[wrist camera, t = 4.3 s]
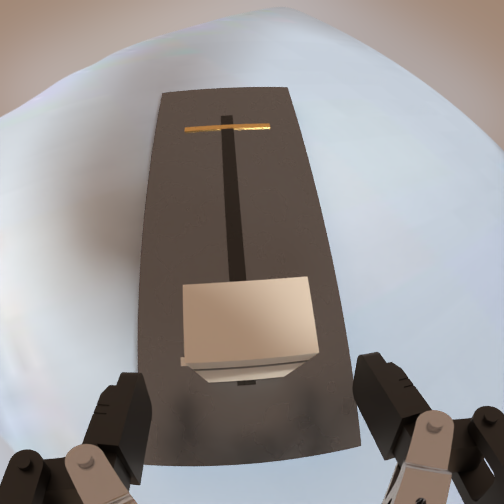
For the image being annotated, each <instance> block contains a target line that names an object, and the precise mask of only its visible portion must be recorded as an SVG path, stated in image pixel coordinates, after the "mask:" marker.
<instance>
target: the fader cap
mask: <svg viewBox="0 0 504 504" xmlns="http://www.w3.org/2000/svg"><path fill="white" fill-rule="evenodd" d="M183 328H184V356H185V364H186V365H188V366H189V367H190V368H191V369H192V371H195V372H196V373H197V374H199V375H200V376H201V377H202V378H204V379H205V380H206V381H207V382H209V383H210V382H228V381H243V380H255V379H266V378H276V377H284V376H286V375H287V374H289V373H290V372H292V371H293V370H295V369H296V368H298V367H299V366H301V365H302V364H303V363H305V362H308V361H309V359H311V358H312V357H313V356H315V355H316V354H318V353H319V347H318V340H317V334H316V327H315V320H314V314H313V307H312V301H311V294H310V288H309V282H308V276H307V277H294V278H281V279H267V280H253V281H238V282H222V283H205V284H188V285H183Z"/></svg>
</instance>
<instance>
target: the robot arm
mask: <svg viewBox="0 0 504 504" xmlns="http://www.w3.org/2000/svg"><path fill="white" fill-rule="evenodd" d="M352 390H353V397H354V400H355V402H356V404H357V406H358V408H359V410H360V412H361V414H362V416H363V418H364V420H365V422H366V424H367V426H368V428H369V430H370V432H371V434H372V436H373V438H374V440H375V442H376V444H377V446H378V448H379V450H380V452H381V454H382V456H383V458H384V460H388V459H392V458H396V460H397V465H396V467H395V470H394V472H393V475H392V478H391V481H390V483H389V486H388V489H387V491H386V494H385V497H384V499H383V502H382V504H446V501H447V497H448V492H449V487H450V482H451V478H452V480H453V482H454V484H455V486H456V488H457V490H458V492H459V494H460V496H461V498H462V500H463V502H464V504H504V414H503V413H502V412H501V411H500V410H499V409H497V408H495V407H491V406H483V407H480V408H478V409H477V410H476V411H475V413H474V415H473V417H472V418H468V419H457V420H452V419H451V417H450V416H448V415H447V414H446V413H444V412H441V411H437V410H432V409H431V408H430V407H429V405H428V404H427V402H426V401H425V400H424V398H423V397H422V396H421V394H420V393H419V391H418V390H417V389H416V387H415V386H413V383H412V382H411V381H410V379H408V377H407V375H406V374H405V372H404V371H403V370H402V369H401V368H400V367H398V366H397V365H395V364H394V363H392V362H389V363H386V361H385V360H384V359H383V357H382V356H381V354H380V353H379V352H374V353H369V354H363V355H359V356H358V358H357V363H356V369H355V375H354V380H353V387H352ZM151 420H152V404H151V400H150V397H149V394H148V390H147V387H146V384H145V380H144V377H143V374H142V373H127V372H122V373H121V374H120V377H119V380H118V382H117V385H109V386H108V387H107V388H106V389H105V390H104V391H103V392H102V393H101V395H100V398H99V400H98V403H97V406H96V408H95V410H94V414H93V416H92V418H91V421H90V424H89V426H88V429H87V432H86V435H85V437H84V440H83V443H82V445H78V446H76V447H74V448H72V449H71V450H70V451H69V452H68V453H67V455H66V457H63V458H55V459H44V460H43V458H42V457H41V456H40V454H39V453H37V452H36V451H33V450H21V451H19V452H17V453H16V454H14V455H13V456H12V458H11V459H10V461H9V464H8V466H7V469H6V471H5V474H4V476H3V479H2V482H1V484H0V504H137V503H136V501H135V500H134V499H133V497H132V496H131V495H130V493H129V488H130V484H133V485H140V483H141V477H142V471H143V465H144V459H145V453H146V447H147V441H148V436H149V431H150V425H151ZM484 458H485V459H486V461H487V462H488V464H489V466H490V467H491V469H492V470H493V472H494V475H493V474H492V472H491V470H490V469H489V467H488V465H487V464H486V462H485V461H484ZM494 476H495V477H494Z"/></svg>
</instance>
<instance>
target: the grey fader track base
mask: <svg viewBox="0 0 504 504" xmlns="http://www.w3.org/2000/svg"><path fill="white" fill-rule="evenodd" d="M307 276H308V282H309V288H310V294H311V301H312V307H313V314H314V320H315V327H316V334H317V340H318V347H319V353H318V354H316V355H315V356H313V357H312V358H311V359H309V361H308V362H305V363H303V364H302V365H301V366H299V367H298V368H296V369H295V370H293V371H292V372H290V373H289V374H287V375H286V376H284V377H276V378H266V379H255V380H243V381H228V382H210V383H209V382H207V381H206V380H205V379H204V378H202V377H201V376H200V375H199V374H197V373H196V372H195V371H192V369H191V368H190V367H189V366H188V365H186V364H185V356H184V328H183V285H188V284H205V283H222V282H238V281H253V280H267V279H281V278H294V277H307ZM138 373H142V374H143V377H144V380H145V384H146V387H147V390H148V394H149V397H150V400H151V404H152V420H151V425H150V431H149V436H148V441H147V447H146V453H145V459H144V465H161V466H220V465H239V464H252V463H263V462H272V461H281V460H288V459H295V458H302V457H308V456H314V455H320V454H325V453H331V452H336V451H340V450H345V449H350V448H354V447H358V446H361V439H360V429H359V420H358V412H357V404H356V402H355V400H354V397H353V390H352V387H353V374H352V367H351V360H350V354H349V347H348V341H347V335H346V329H345V323H344V317H343V312H342V306H341V301H340V296H339V290H338V285H337V280H336V275H335V270H334V265H333V260H332V256H331V251H330V246H329V242H328V237H327V233H326V228H325V224H324V220H323V215H322V211H321V207H320V203H319V199H318V195H317V191H316V187H315V183H314V179H313V175H312V171H311V167H310V163H309V160H308V156H307V152H306V149H305V145H304V141H303V138H302V134H301V131H300V127H299V124H298V120H297V117H296V114H295V110H294V107H293V104H292V100H291V97H290V94H289V91H288V87H240V88H217V89H201V90H188V91H177V92H168V93H162V98H161V104H160V109H159V114H158V120H157V126H156V132H155V138H154V144H153V151H152V158H151V165H150V172H149V180H148V188H147V196H146V205H145V215H144V226H143V237H142V250H141V265H140V283H139V310H138Z"/></svg>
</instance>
